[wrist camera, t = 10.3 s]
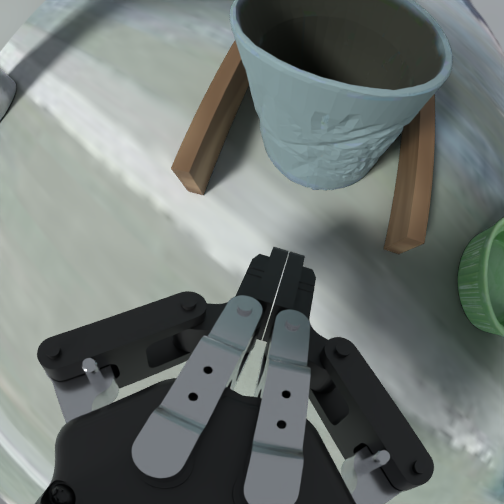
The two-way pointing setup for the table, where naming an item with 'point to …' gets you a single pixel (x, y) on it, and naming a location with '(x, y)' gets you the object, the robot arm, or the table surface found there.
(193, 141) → the brown piece
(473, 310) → the ramekin
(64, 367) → the robot arm
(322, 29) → the blue-grey plant pot
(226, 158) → the table surface
